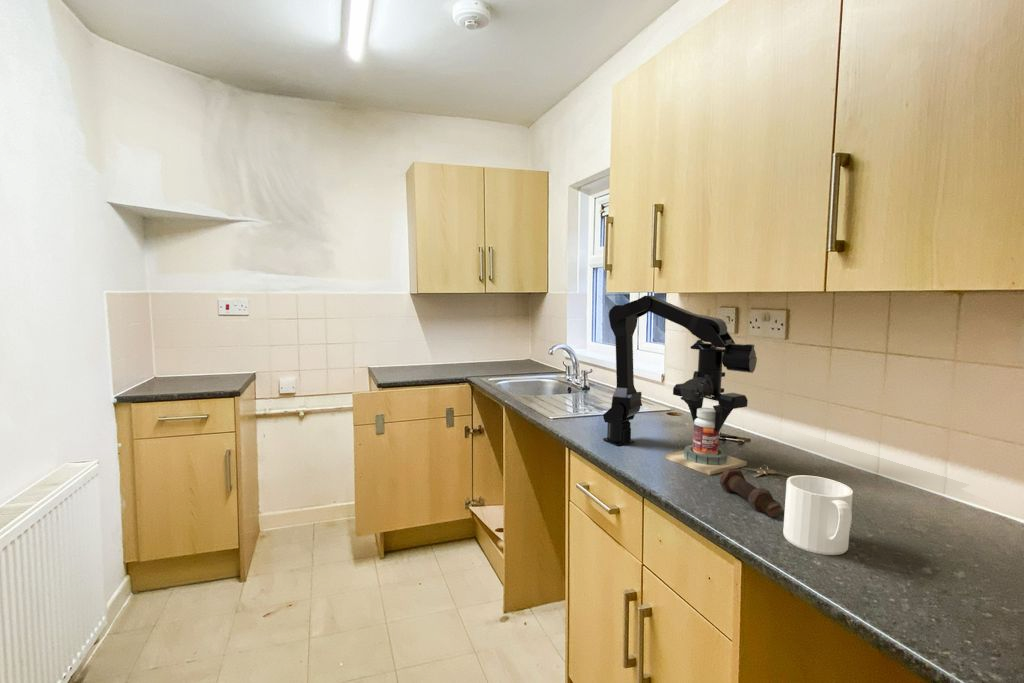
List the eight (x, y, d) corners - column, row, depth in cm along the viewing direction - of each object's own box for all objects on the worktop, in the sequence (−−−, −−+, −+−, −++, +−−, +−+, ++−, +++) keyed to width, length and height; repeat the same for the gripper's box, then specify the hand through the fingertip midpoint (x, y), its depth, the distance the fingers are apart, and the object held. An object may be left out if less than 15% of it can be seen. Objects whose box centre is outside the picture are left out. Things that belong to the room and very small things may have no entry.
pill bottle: (702, 457, 129) (705, 413, 128) (687, 450, 135) (689, 407, 133) (723, 455, 131) (725, 412, 129) (707, 448, 136) (709, 406, 135)
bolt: (770, 528, 100) (725, 495, 115) (791, 515, 101) (744, 483, 115) (759, 505, 99) (715, 474, 114) (780, 491, 100) (734, 462, 114)
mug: (772, 528, 96) (775, 475, 95) (824, 527, 97) (828, 475, 96) (813, 564, 84) (818, 503, 83) (873, 563, 84) (878, 503, 83)
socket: (665, 458, 135) (665, 447, 135) (701, 450, 142) (701, 439, 142) (709, 475, 123) (710, 463, 123) (746, 465, 130) (747, 454, 130)
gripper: (659, 364, 134) (656, 423, 136) (720, 376, 118) (716, 442, 120) (688, 362, 140) (686, 418, 141) (750, 372, 124) (746, 435, 125)
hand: (706, 428), depth 132 cm, fingers closed on pill bottle, 6 cm apart
